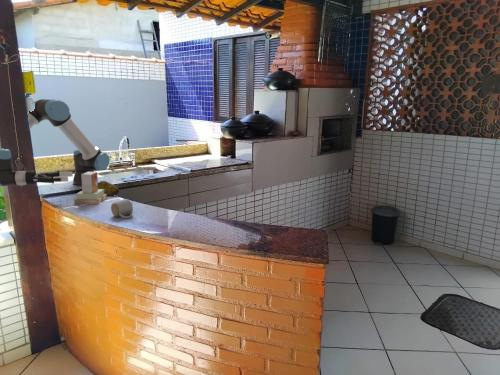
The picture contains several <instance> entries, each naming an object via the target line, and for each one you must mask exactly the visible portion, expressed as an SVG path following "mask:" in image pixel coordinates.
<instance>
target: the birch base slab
mask: <svg viewBox="0 0 500 375" xmlns="http://www.w3.org/2000/svg"><path fill="white" fill-rule="evenodd" d="M107 198H108V195H107V194H104V195H103V196H101V197H100V198H98V199H77V197H76V198H74V204H75V205H76V204H78V205H81V204H82V205H83V204H84V205H86V204H87V205H99V204H101V203H102V202H104V201H105V200H106V199H107Z"/></svg>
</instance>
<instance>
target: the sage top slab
mask: <svg viewBox="0 0 500 375" xmlns="http://www.w3.org/2000/svg"><path fill="white" fill-rule="evenodd" d="M103 195H104V189H98V190H97V191H95V192H93V193H83V192H82V190H80V191H79V192H77V193H75V196H76V198H77V199H98V198H100V197H101V196H103Z"/></svg>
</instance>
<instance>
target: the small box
mask: <svg viewBox="0 0 500 375" xmlns="http://www.w3.org/2000/svg"><path fill="white" fill-rule="evenodd" d="M98 176H99V175H98V172H97V171H94V172H86V173H84V174H81V177H82V185H81V189H82V190H81V191H82V192H83V193H93V192H95V191H97V190H98V183H99V181H98V180H99V179H98Z"/></svg>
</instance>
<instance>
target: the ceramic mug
mask: <svg viewBox="0 0 500 375" xmlns="http://www.w3.org/2000/svg"><path fill="white" fill-rule="evenodd" d="M133 208H134V207H133V204H132V202H131V201H130V199H128V198H125V199H123V200H119V201H115V202H113V203H112V204H111V207H110V210H111V214H112V215H113V216H114V217H116V218H117V217H118V218H119V217H121V218H123V219H130V218H133Z"/></svg>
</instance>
